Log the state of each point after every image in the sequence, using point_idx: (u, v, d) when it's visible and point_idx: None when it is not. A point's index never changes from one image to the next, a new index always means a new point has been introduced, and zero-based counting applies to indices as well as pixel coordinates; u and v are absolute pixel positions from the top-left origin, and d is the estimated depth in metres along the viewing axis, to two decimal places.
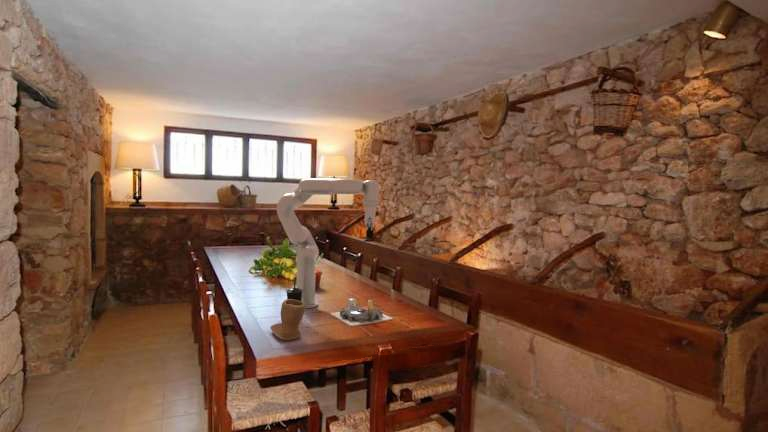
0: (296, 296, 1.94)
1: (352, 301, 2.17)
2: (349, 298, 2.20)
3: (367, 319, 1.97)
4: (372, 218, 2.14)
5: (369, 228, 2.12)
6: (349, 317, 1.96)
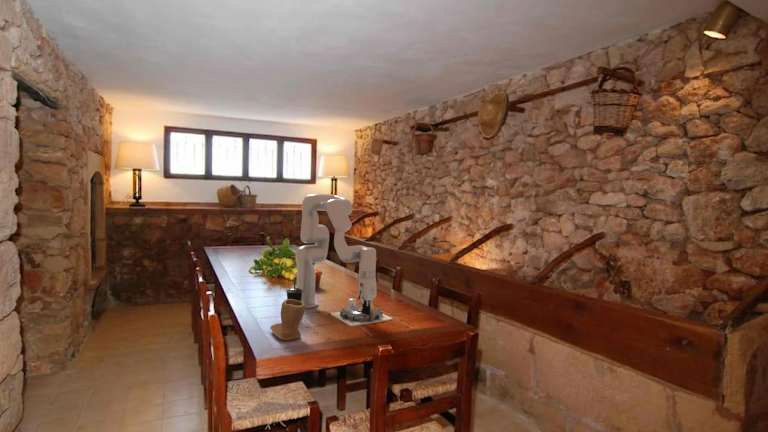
0: (296, 296, 1.94)
1: (352, 301, 2.17)
2: (349, 298, 2.20)
3: (367, 319, 1.97)
4: None
5: None
6: (349, 317, 1.96)
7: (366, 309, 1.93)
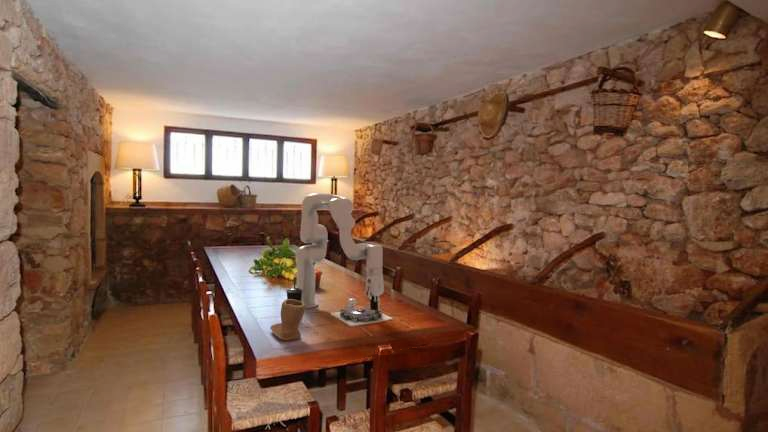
0: (296, 296, 1.94)
1: (352, 301, 2.17)
2: (349, 298, 2.20)
3: (377, 317, 2.01)
4: None
5: None
6: (365, 318, 1.95)
7: (374, 305, 1.98)
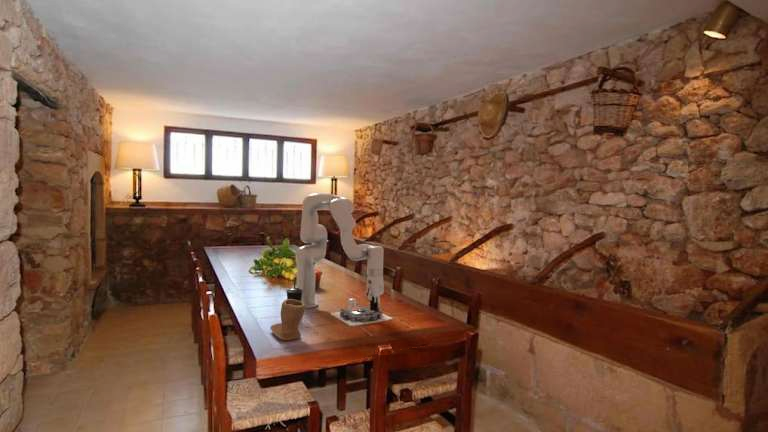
0: (296, 296, 1.94)
1: (352, 301, 2.17)
2: (349, 298, 2.20)
3: None
4: None
5: None
6: (374, 317, 1.97)
7: (374, 305, 2.00)
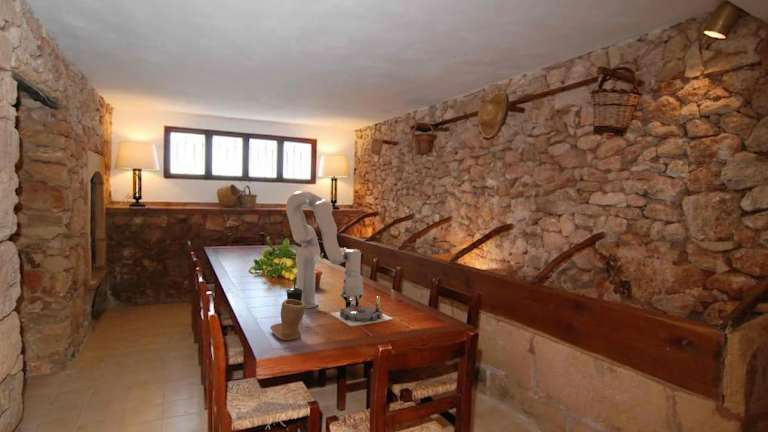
0: (296, 296, 1.94)
1: (352, 301, 2.17)
2: None
3: None
4: None
5: None
6: (374, 317, 1.97)
7: (347, 304, 2.17)
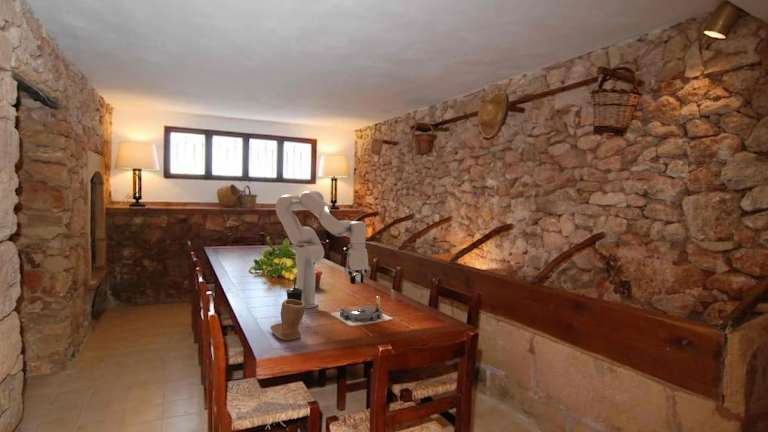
0: (296, 296, 1.94)
1: (357, 276, 2.07)
2: (354, 273, 2.10)
3: None
4: None
5: None
6: (374, 317, 1.97)
7: (352, 279, 2.07)
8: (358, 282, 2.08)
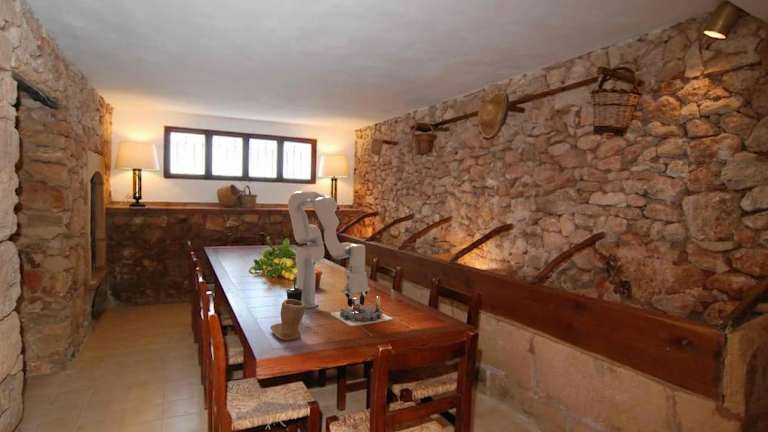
0: (296, 296, 1.94)
1: (356, 300, 2.07)
2: (353, 297, 2.11)
3: None
4: None
5: None
6: (374, 317, 1.97)
7: (349, 301, 2.07)
8: (357, 307, 2.08)
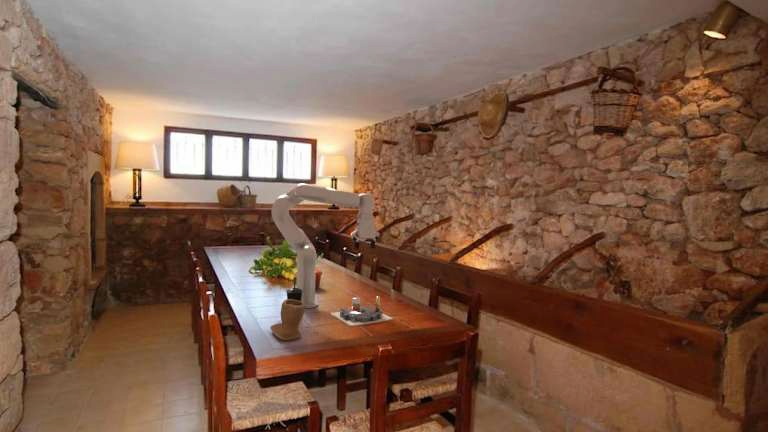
0: (296, 296, 1.94)
1: (356, 300, 2.07)
2: (353, 297, 2.10)
3: None
4: None
5: None
6: (374, 317, 1.97)
7: (356, 244, 2.22)
8: (357, 307, 2.08)
